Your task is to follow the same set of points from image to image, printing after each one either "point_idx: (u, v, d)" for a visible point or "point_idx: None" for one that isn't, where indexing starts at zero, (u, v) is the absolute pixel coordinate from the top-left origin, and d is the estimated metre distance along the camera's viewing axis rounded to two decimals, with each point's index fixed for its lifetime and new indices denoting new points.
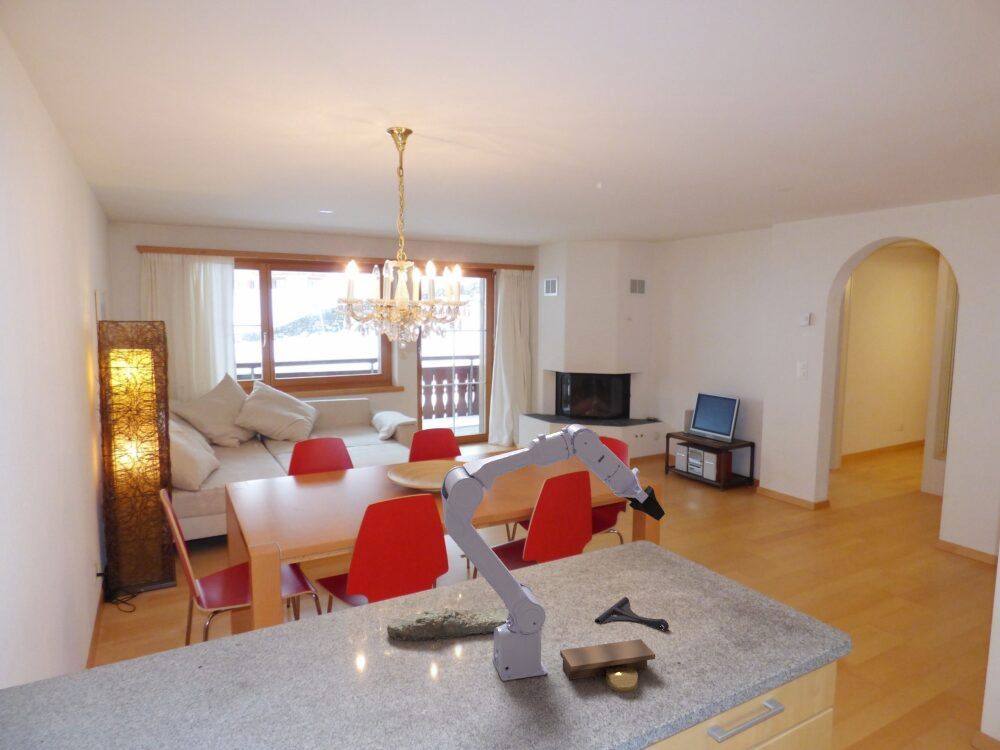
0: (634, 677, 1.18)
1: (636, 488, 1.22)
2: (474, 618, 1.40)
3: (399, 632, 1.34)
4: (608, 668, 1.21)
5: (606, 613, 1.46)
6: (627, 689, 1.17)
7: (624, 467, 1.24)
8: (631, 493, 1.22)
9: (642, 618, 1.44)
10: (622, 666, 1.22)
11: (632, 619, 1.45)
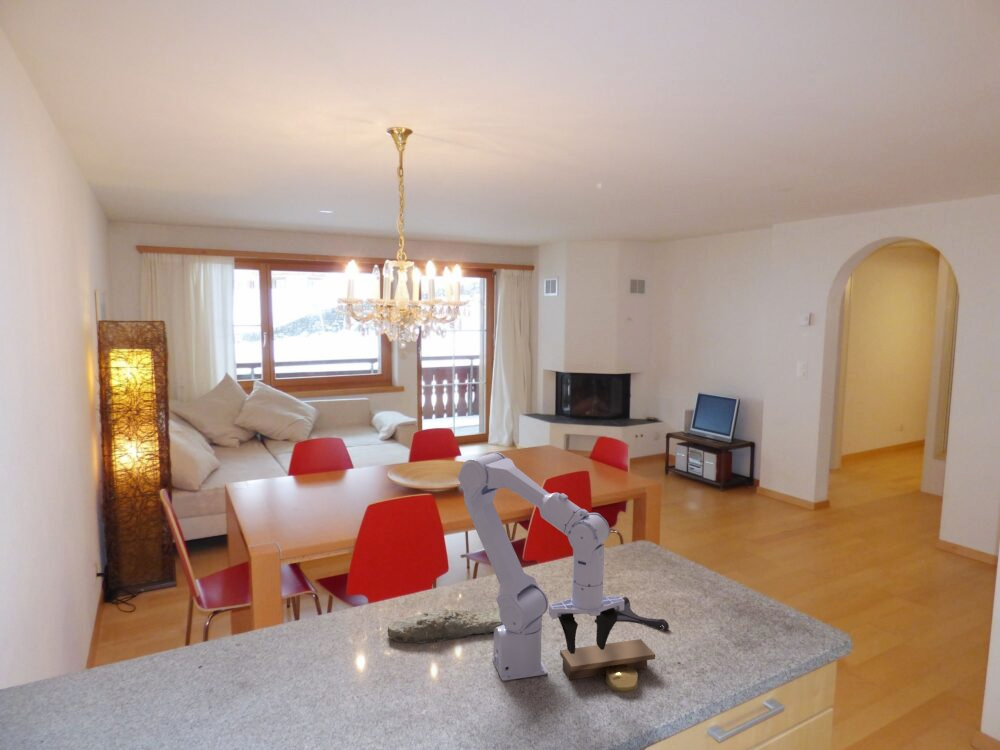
0: (634, 677, 1.18)
1: (564, 608, 1.14)
2: (474, 618, 1.40)
3: (400, 634, 1.33)
4: (608, 668, 1.21)
5: None
6: (627, 689, 1.17)
7: (583, 592, 1.13)
8: (561, 604, 1.15)
9: (642, 618, 1.44)
10: (622, 666, 1.22)
11: (632, 619, 1.45)
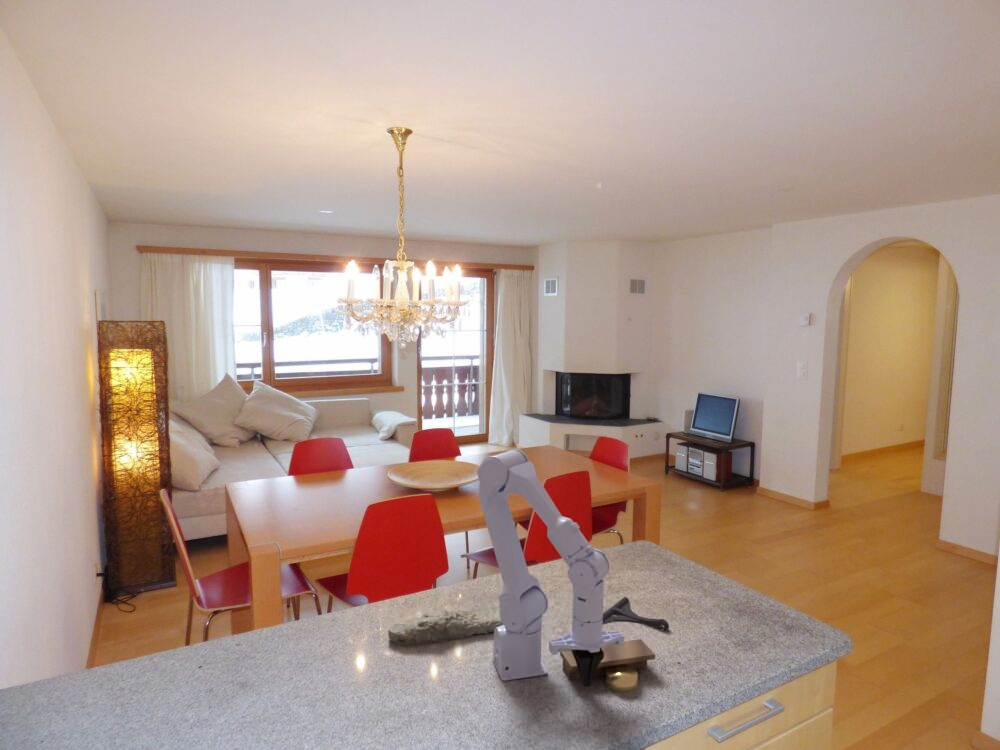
0: (634, 677, 1.18)
1: (564, 643, 1.15)
2: (475, 618, 1.40)
3: (402, 637, 1.32)
4: (608, 668, 1.21)
5: (606, 613, 1.46)
6: (627, 689, 1.17)
7: (582, 628, 1.14)
8: (561, 639, 1.16)
9: (642, 618, 1.44)
10: (622, 666, 1.22)
11: (632, 619, 1.45)
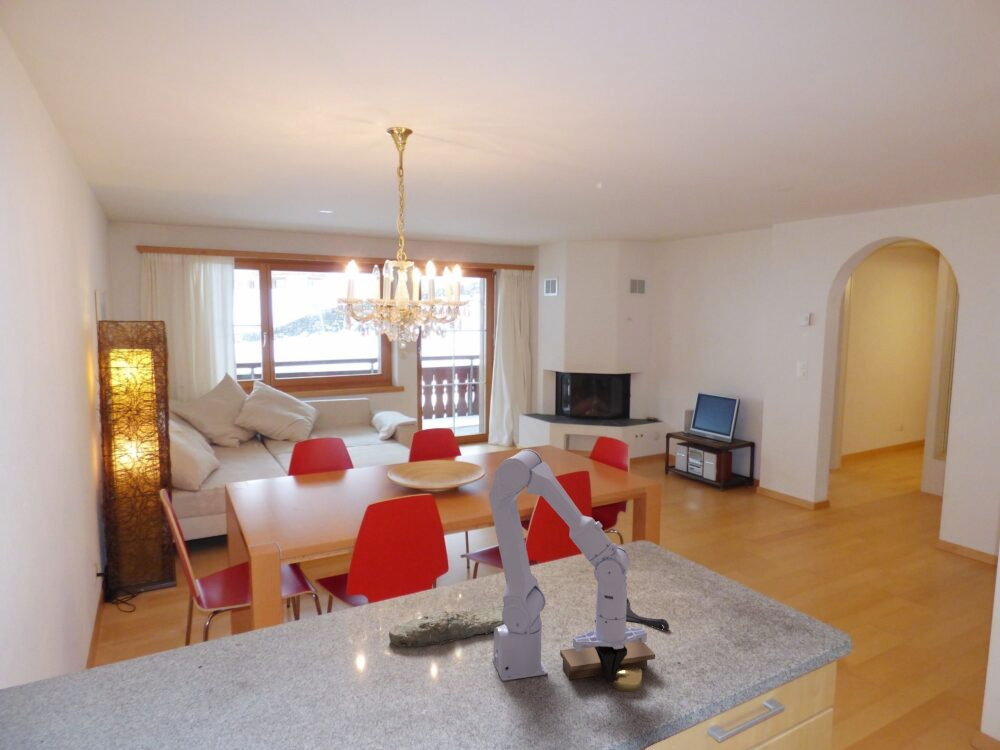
0: (638, 675, 1.19)
1: (588, 640, 1.16)
2: (475, 619, 1.39)
3: (404, 639, 1.31)
4: None
5: None
6: (631, 687, 1.17)
7: (606, 625, 1.15)
8: (585, 636, 1.17)
9: (642, 618, 1.44)
10: (626, 664, 1.22)
11: (632, 619, 1.45)
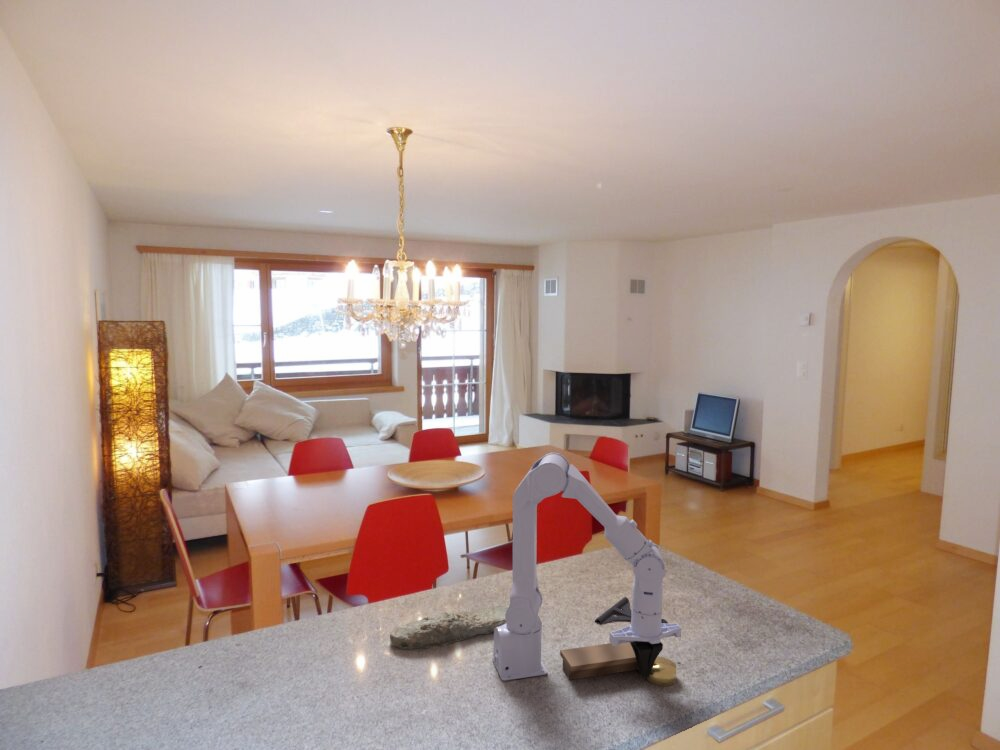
0: (673, 669, 1.21)
1: (624, 635, 1.18)
2: (476, 619, 1.39)
3: (405, 641, 1.30)
4: None
5: (606, 613, 1.46)
6: (667, 681, 1.20)
7: (643, 620, 1.17)
8: (621, 631, 1.19)
9: None
10: (660, 659, 1.24)
11: None
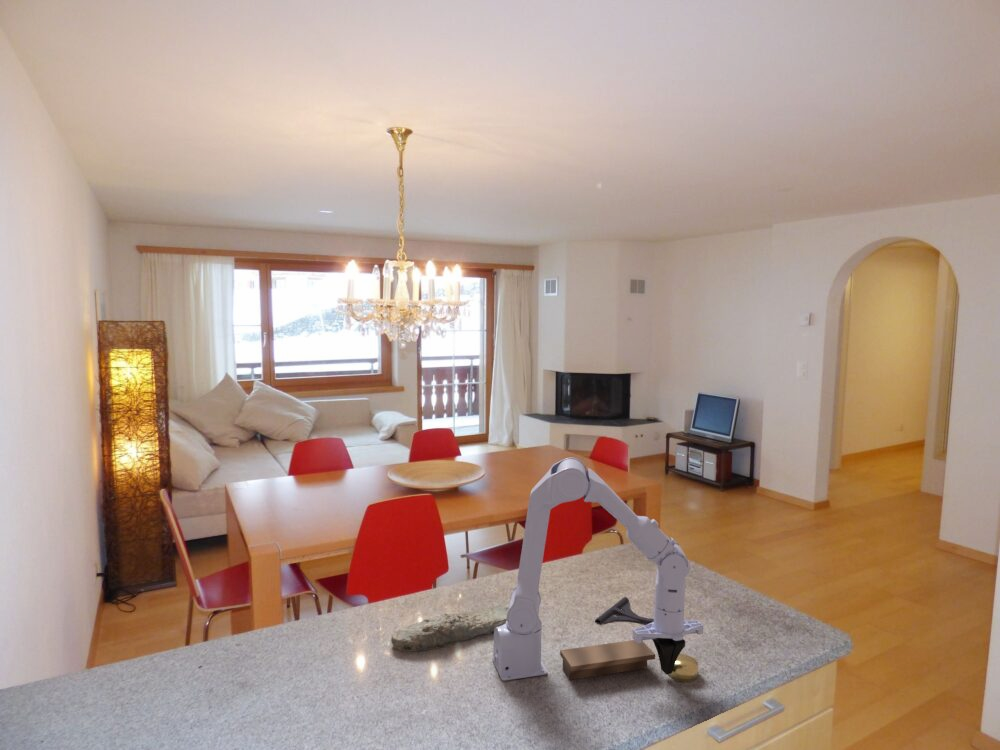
0: (695, 666, 1.22)
1: (647, 632, 1.19)
2: (476, 619, 1.39)
3: (408, 643, 1.29)
4: None
5: (606, 613, 1.46)
6: (689, 678, 1.21)
7: (666, 617, 1.18)
8: (644, 628, 1.21)
9: (642, 618, 1.44)
10: (682, 656, 1.26)
11: (632, 619, 1.45)
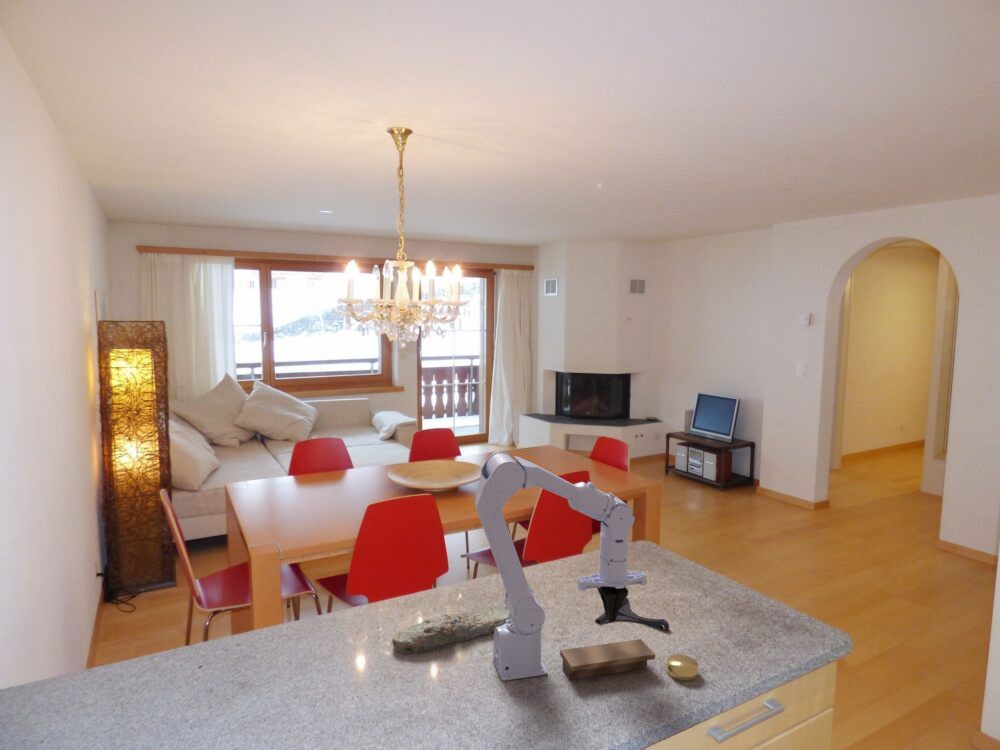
0: (695, 667, 1.22)
1: (591, 581, 1.25)
2: (477, 619, 1.39)
3: (410, 645, 1.28)
4: (668, 659, 1.25)
5: None
6: (689, 679, 1.21)
7: (609, 567, 1.24)
8: (589, 578, 1.27)
9: (642, 618, 1.44)
10: (682, 657, 1.26)
11: (632, 619, 1.45)
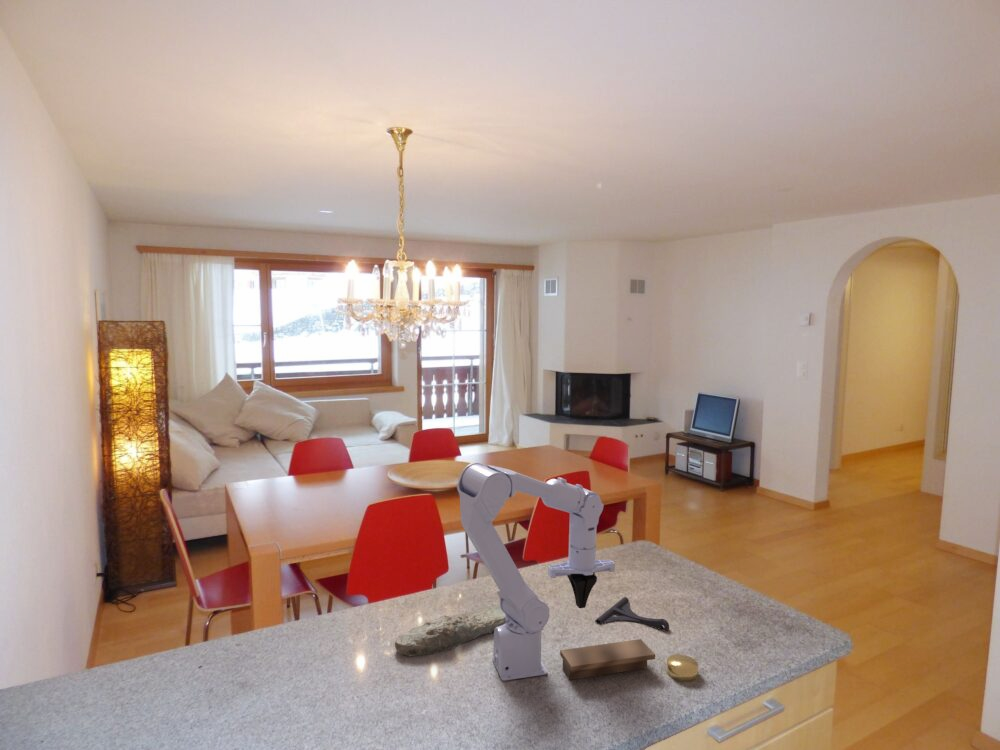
0: (695, 667, 1.22)
1: (561, 569, 1.29)
2: (477, 619, 1.39)
3: (414, 648, 1.27)
4: (668, 659, 1.25)
5: (606, 613, 1.46)
6: (689, 679, 1.21)
7: (578, 554, 1.28)
8: (559, 566, 1.31)
9: (642, 618, 1.44)
10: (682, 657, 1.26)
11: (632, 619, 1.45)
